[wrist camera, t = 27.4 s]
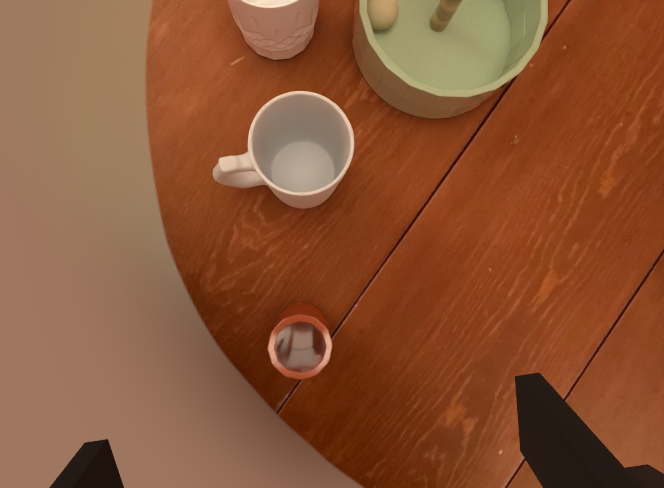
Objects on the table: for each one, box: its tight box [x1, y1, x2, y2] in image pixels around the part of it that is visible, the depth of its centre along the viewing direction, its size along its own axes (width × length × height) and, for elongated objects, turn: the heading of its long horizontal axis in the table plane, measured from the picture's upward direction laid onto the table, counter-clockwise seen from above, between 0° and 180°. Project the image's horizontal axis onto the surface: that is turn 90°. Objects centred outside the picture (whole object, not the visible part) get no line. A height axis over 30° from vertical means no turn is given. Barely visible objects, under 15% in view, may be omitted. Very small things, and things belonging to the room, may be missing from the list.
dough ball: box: [367, 0, 399, 30], centre depth 39 cm, size 3×3×3 cm
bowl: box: [352, 0, 548, 119], centre depth 38 cm, size 15×15×6 cm
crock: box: [268, 302, 333, 380], centre depth 36 cm, size 5×5×8 cm
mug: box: [213, 91, 354, 209], centre depth 34 cm, size 10×7×12 cm, turn 102°
